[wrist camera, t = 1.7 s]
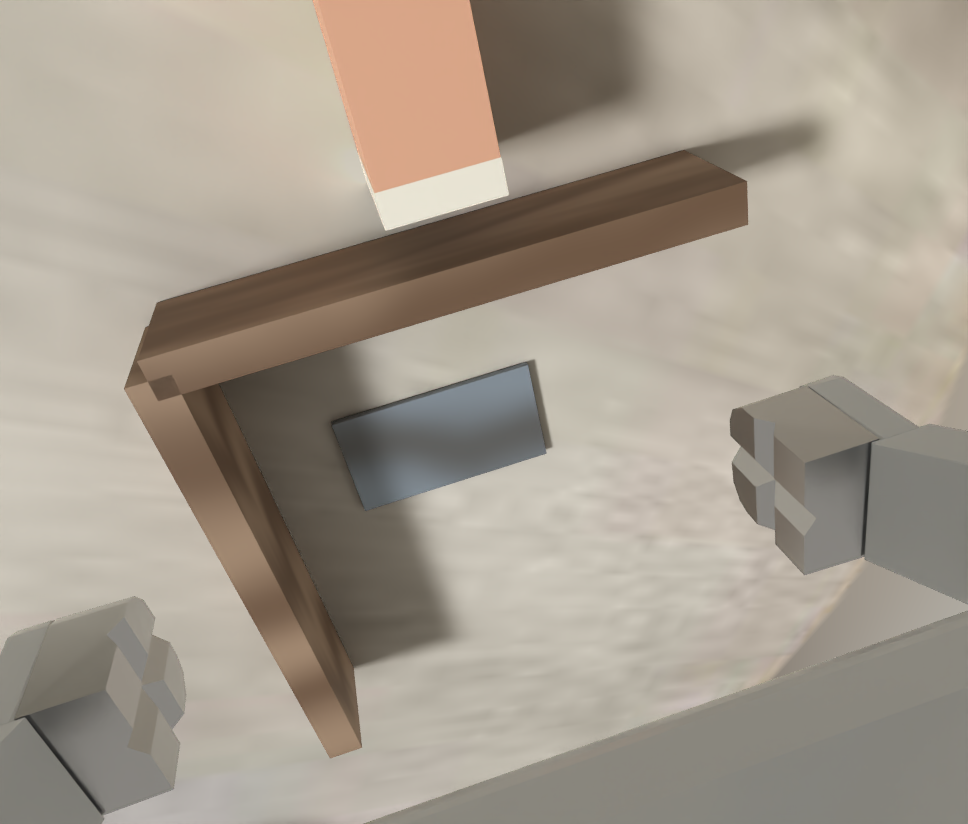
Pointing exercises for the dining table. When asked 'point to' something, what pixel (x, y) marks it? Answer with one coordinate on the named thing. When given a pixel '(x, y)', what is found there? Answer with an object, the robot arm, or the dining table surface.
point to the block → (415, 104)
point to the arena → (397, 426)
